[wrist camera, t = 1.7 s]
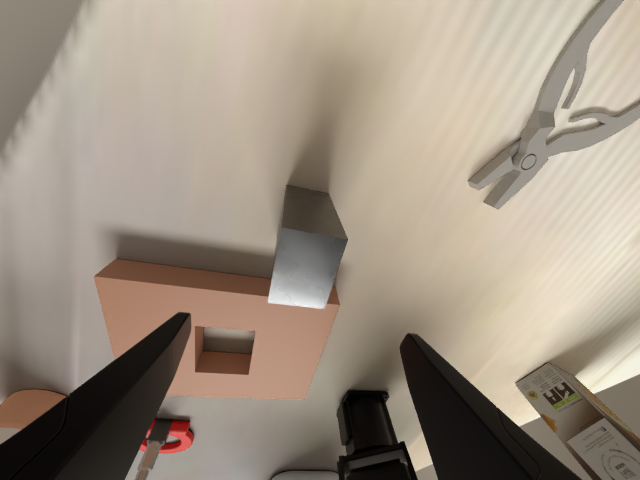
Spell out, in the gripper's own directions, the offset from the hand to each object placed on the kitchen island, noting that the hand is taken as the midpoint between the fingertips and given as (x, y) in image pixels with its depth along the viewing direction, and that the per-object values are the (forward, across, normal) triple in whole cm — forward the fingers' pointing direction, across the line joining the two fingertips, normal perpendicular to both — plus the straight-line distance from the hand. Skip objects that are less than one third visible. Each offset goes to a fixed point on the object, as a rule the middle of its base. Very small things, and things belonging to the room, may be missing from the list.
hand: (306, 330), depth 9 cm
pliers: (+12, -18, -12) cm, 25 cm away
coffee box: (+12, -44, +20) cm, 50 cm away
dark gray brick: (+12, 0, 0) cm, 12 cm away
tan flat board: (+12, +5, +15) cm, 20 cm away
